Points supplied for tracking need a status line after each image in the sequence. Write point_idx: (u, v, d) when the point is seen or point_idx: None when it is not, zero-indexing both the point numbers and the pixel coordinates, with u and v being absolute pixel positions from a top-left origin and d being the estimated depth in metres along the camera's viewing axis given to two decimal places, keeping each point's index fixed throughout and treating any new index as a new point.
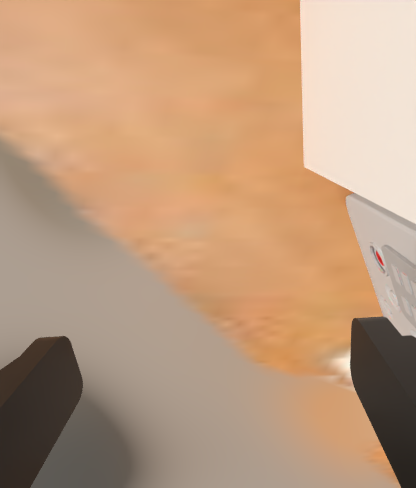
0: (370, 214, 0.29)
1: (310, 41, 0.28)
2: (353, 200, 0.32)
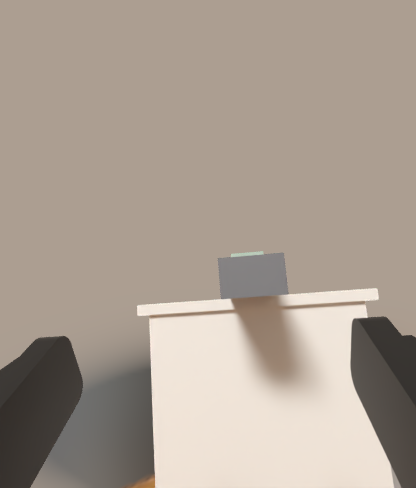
0: None
1: None
2: None
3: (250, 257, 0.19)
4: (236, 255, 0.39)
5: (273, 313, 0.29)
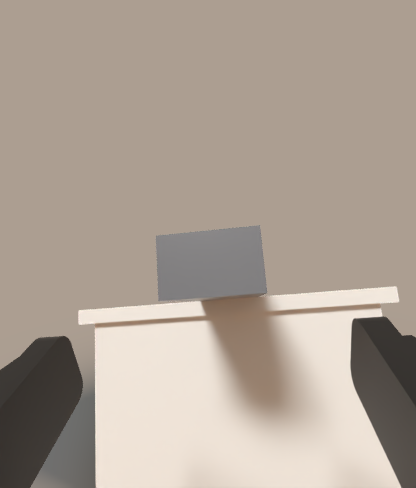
0: None
1: None
2: None
3: (207, 233, 0.12)
4: None
5: (257, 320, 0.22)
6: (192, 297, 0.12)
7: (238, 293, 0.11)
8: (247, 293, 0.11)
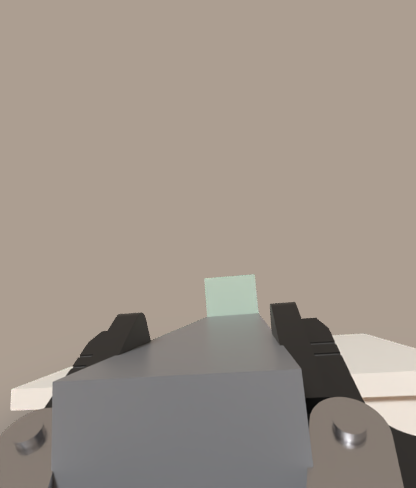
0: None
1: None
2: None
3: (171, 383, 0.05)
4: (212, 280, 0.25)
5: None
6: None
7: None
8: None
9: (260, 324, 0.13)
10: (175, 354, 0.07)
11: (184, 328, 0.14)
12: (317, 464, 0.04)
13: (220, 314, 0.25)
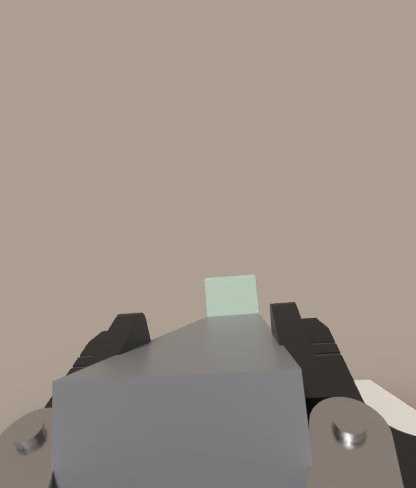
0: None
1: None
2: None
3: (171, 383, 0.05)
4: (213, 280, 0.25)
5: None
6: None
7: None
8: None
9: (260, 324, 0.13)
10: (175, 354, 0.07)
11: (184, 328, 0.14)
12: (317, 464, 0.04)
13: (221, 314, 0.25)
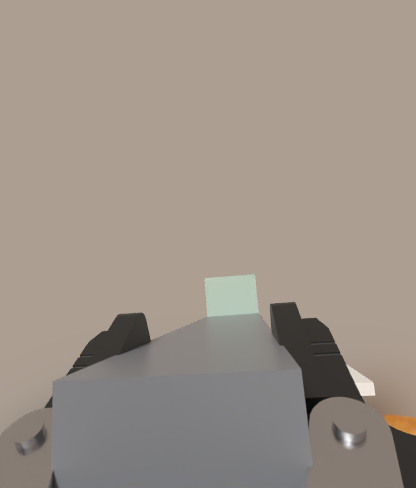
0: None
1: None
2: None
3: (171, 383, 0.05)
4: (213, 280, 0.25)
5: None
6: None
7: None
8: None
9: (260, 324, 0.13)
10: (175, 354, 0.07)
11: (184, 328, 0.14)
12: (317, 464, 0.04)
13: (221, 314, 0.25)
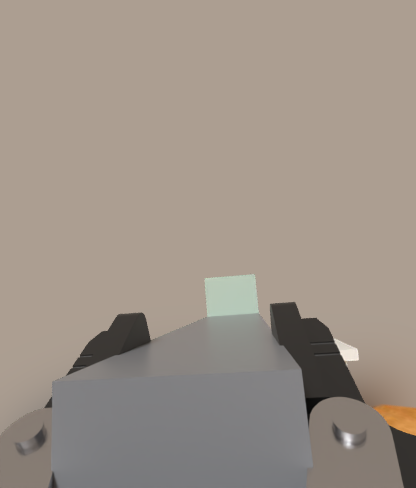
0: None
1: None
2: None
3: (171, 383, 0.05)
4: (213, 280, 0.25)
5: None
6: None
7: None
8: None
9: (260, 324, 0.13)
10: (175, 354, 0.07)
11: (184, 328, 0.14)
12: (317, 464, 0.04)
13: (221, 314, 0.25)
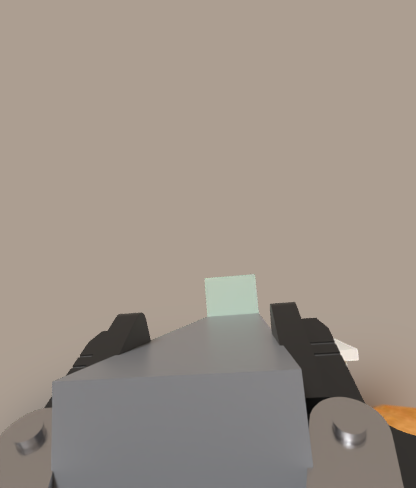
0: None
1: None
2: None
3: (171, 383, 0.05)
4: (213, 280, 0.25)
5: None
6: None
7: None
8: None
9: (260, 324, 0.13)
10: (175, 354, 0.07)
11: (184, 328, 0.14)
12: (317, 464, 0.04)
13: (220, 314, 0.25)
